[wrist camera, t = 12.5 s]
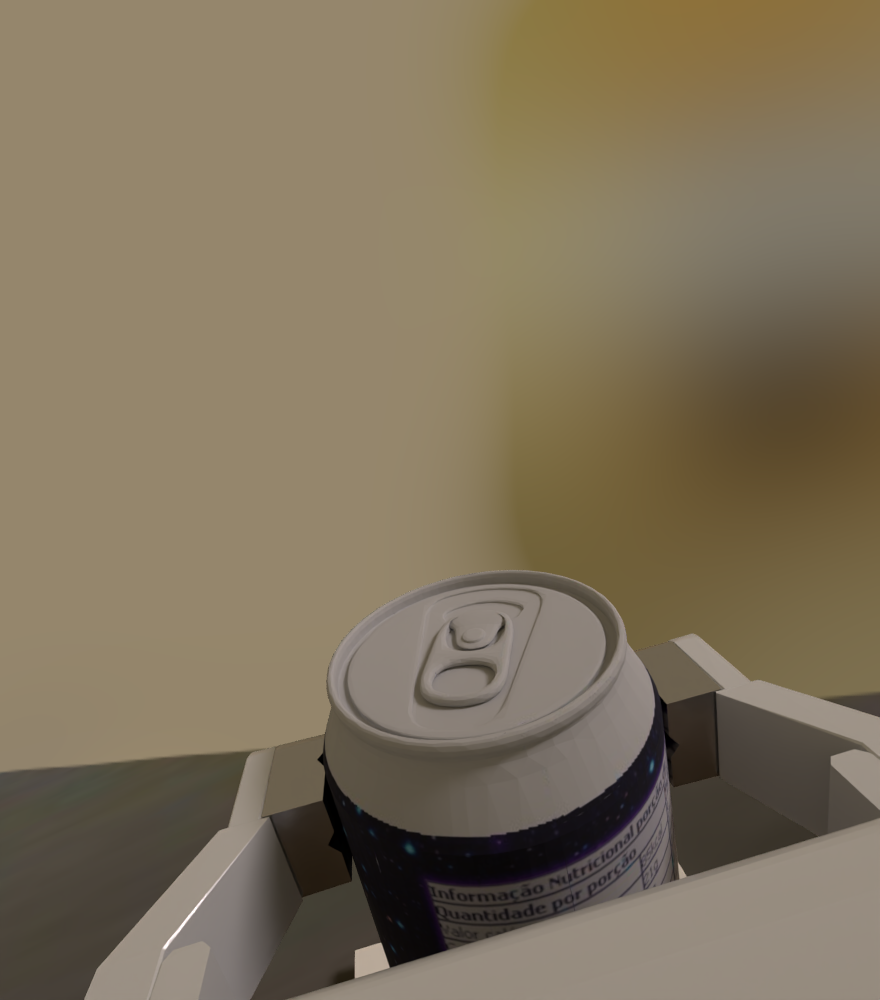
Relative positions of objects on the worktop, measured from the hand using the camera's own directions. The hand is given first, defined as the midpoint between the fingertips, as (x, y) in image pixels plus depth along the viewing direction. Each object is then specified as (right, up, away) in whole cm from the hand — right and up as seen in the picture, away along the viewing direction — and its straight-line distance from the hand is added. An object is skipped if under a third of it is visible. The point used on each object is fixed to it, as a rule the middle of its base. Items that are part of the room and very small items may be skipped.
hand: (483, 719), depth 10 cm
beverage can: (+2, -9, +2) cm, 10 cm away
